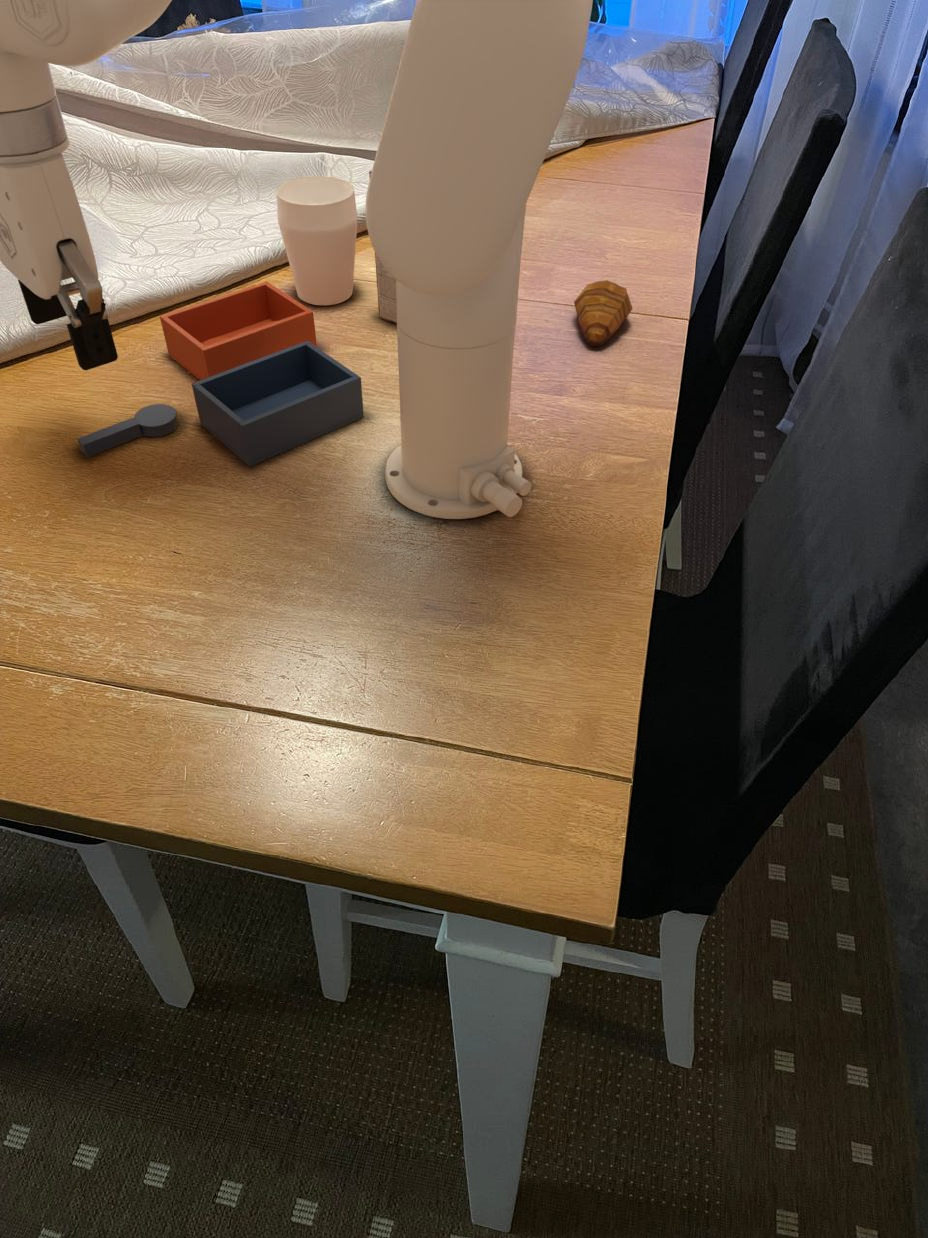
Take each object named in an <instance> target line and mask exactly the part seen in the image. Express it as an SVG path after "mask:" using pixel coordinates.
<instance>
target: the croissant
mask: <svg viewBox="0 0 928 1238" xmlns="http://www.w3.org/2000/svg"><path fill="white" fill-rule="evenodd" d="M573 304H574V309H575V312H576V314H577V316H578V319H577V321H578V324H579V327H580V329H581V332H582V334H583V337H584V339H585V341H586V342H587V343H588V345H590V346H593V347H598V346H599V347H601V346H602V345H604V344H605V343H607V342H608V341H609V339H611V337H613V336H614V334H616V332H617V331H618V330H619V328H620V327H621V325H622V323H623V322H624V321H625V320H626V319H627V318H628V317H629V315H630V314H631V312H632V310H633V305H632V302H631V300H630V297H629V294H628V290H627V288H626V287H624V286H621V285H619V284H617V283H616V282H613V281H610V280H608V279H606V280H598V281H595V282H592V283H587V284H586V286H585V287H584V288H583V290H582V291H581V292H580V294H579V295H578V296H577V297H576V299H575V300H573Z"/></svg>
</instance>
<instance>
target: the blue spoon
mask: <svg viewBox="0 0 928 1238" xmlns="http://www.w3.org/2000/svg"><path fill="white" fill-rule="evenodd" d="M179 424H180V421H179V417H178V413H177V410H176V408H174V407H173V406H171V405H170V404H169V405H168V404H164V403H155V404H149V405H145V406H144V407H141V408H140V409H139V410H137V411H136V412H135V414H134V416H133V417H130V418H128V419H125V420H122V421H120V422H117V423H114V424H112V425H109V426H107V427H104V428H101V429H98V430H96V431H94V432H91V433H88V434H85V435H83V436H80V437H77V438H76V440H77V444H78V446H79V449H80V451H81V452H82V453H83V454H84V455H85V457H87V458H90V457H93V456H94V455H98V454H100V453H102V452H105V451H107V450H110V449H113V448H115V447H117V446H121V445H123V444H125V443H127V442H130V441H132V440H136V439H138V438H141V437H143V436H145V437H151V438H157V437H163V436H166V435H169V434H171V433H173V432H174V431H176V430H177V429H178V427H179Z"/></svg>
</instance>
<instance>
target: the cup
mask: <svg viewBox="0 0 928 1238" xmlns="http://www.w3.org/2000/svg"><path fill="white" fill-rule="evenodd" d="M275 194H276V197H275V198H276V210H277V211H276V212H277V222H278V226H279V230H280V235H281V237H282V241H283V245H284V249H285V253H286V256H287V260H288V264H289V268H290V272H291V275H292V279H293V282H294V286H295V290H296V293H297V296H298V298H299V299H300V300H301V301H303V302H305V303H307V304H310V305H314V306H334V305H338V304H341V303H343V302H345V301H347V300H349V299H350V297H351V296H353V292H354V291H353V290H354V277H355V264H356V263H355V262H356V247H357V235H358V234H357V233H358V209H357V202H356V194H355V187H354V185H352V183H350V182H349V181H347V180H345V179H342V178H338V177H333V176H323V175H310V176H309V175H308V176H301V177H297V178H293V179H289V180H287V181H284V182H282V183H281V184H279V185H278V186H277V188H276V190H275Z"/></svg>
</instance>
